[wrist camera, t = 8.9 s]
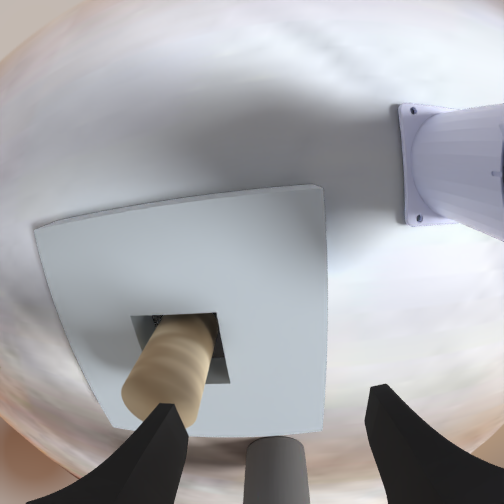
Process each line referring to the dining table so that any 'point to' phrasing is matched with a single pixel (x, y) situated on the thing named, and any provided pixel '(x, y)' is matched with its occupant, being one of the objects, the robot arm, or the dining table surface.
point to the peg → (173, 366)
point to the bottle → (276, 472)
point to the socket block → (203, 300)
